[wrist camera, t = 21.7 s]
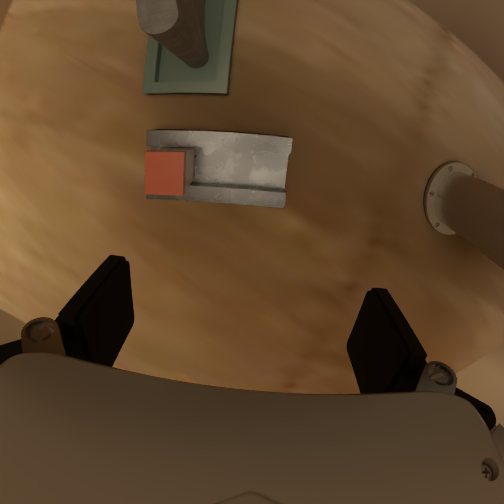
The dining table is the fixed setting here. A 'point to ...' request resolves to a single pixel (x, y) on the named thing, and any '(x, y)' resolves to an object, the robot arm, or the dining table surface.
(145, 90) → the tray
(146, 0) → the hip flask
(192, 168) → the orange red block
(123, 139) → the dining table surface
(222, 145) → the switch panel
